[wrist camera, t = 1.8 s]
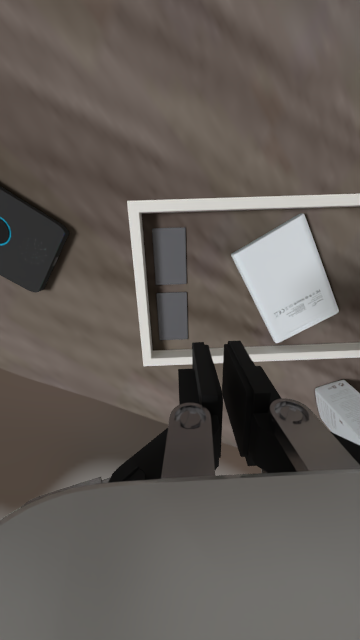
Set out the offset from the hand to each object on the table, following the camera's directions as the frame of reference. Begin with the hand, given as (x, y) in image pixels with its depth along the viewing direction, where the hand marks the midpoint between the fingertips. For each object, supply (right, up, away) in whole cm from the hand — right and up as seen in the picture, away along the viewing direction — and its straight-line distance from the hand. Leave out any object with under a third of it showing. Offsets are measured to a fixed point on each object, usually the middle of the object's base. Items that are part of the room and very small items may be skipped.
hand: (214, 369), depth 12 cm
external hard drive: (+11, +7, +17) cm, 21 cm away
